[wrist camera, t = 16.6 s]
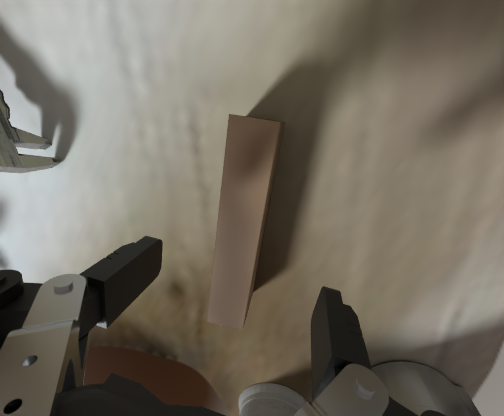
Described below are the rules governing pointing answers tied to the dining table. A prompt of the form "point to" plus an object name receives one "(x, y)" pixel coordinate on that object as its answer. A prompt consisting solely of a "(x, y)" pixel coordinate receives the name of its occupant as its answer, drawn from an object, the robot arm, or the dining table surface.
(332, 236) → the dining table surface
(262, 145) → the walnut bar
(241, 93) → the dining table surface
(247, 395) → the glass holder
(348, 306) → the robot arm
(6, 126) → the caliper
